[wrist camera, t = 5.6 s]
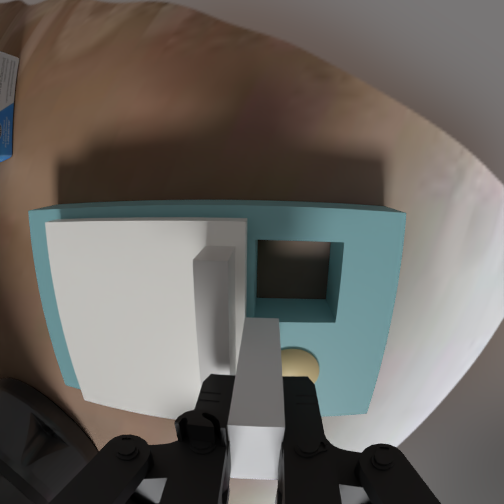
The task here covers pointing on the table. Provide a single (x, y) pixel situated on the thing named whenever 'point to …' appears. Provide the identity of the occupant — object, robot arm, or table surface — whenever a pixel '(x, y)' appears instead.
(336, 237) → the board
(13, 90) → the ink box
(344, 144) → the table surface
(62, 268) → the cover
